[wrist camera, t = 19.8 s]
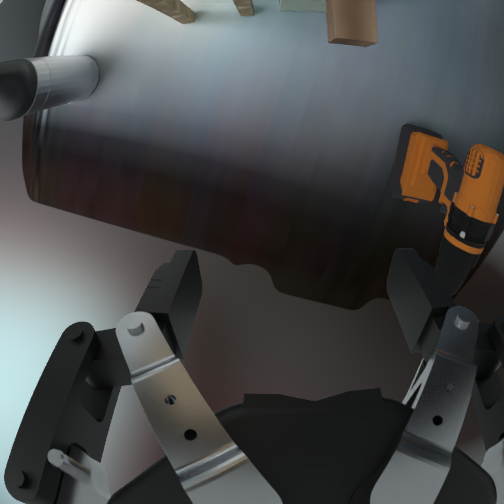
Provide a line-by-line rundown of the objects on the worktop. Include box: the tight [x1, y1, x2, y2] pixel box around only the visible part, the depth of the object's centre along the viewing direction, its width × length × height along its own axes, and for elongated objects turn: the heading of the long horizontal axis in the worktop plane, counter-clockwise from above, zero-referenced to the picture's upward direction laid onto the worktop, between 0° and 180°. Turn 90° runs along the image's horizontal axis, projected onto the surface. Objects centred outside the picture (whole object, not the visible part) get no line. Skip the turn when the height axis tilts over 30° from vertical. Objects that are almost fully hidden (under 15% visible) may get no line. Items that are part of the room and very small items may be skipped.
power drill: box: [389, 124, 504, 296], centre depth 37 cm, size 22×7×25 cm, turn 176°
